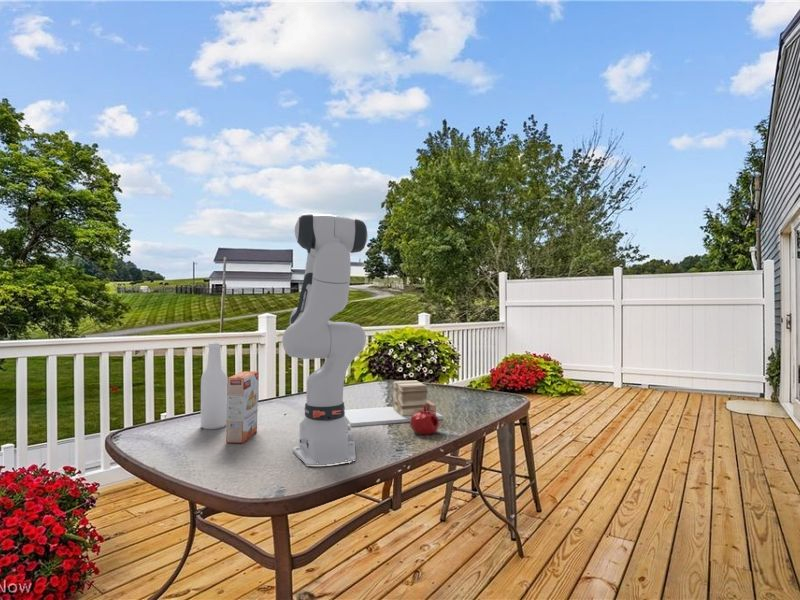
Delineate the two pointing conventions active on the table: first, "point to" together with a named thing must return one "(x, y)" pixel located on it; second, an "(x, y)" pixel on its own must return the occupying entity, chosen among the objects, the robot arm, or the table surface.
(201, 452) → the table surface
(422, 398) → the crate
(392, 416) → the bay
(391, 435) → the table surface
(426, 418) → the red apple
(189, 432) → the table surface
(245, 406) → the cracker box
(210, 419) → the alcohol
